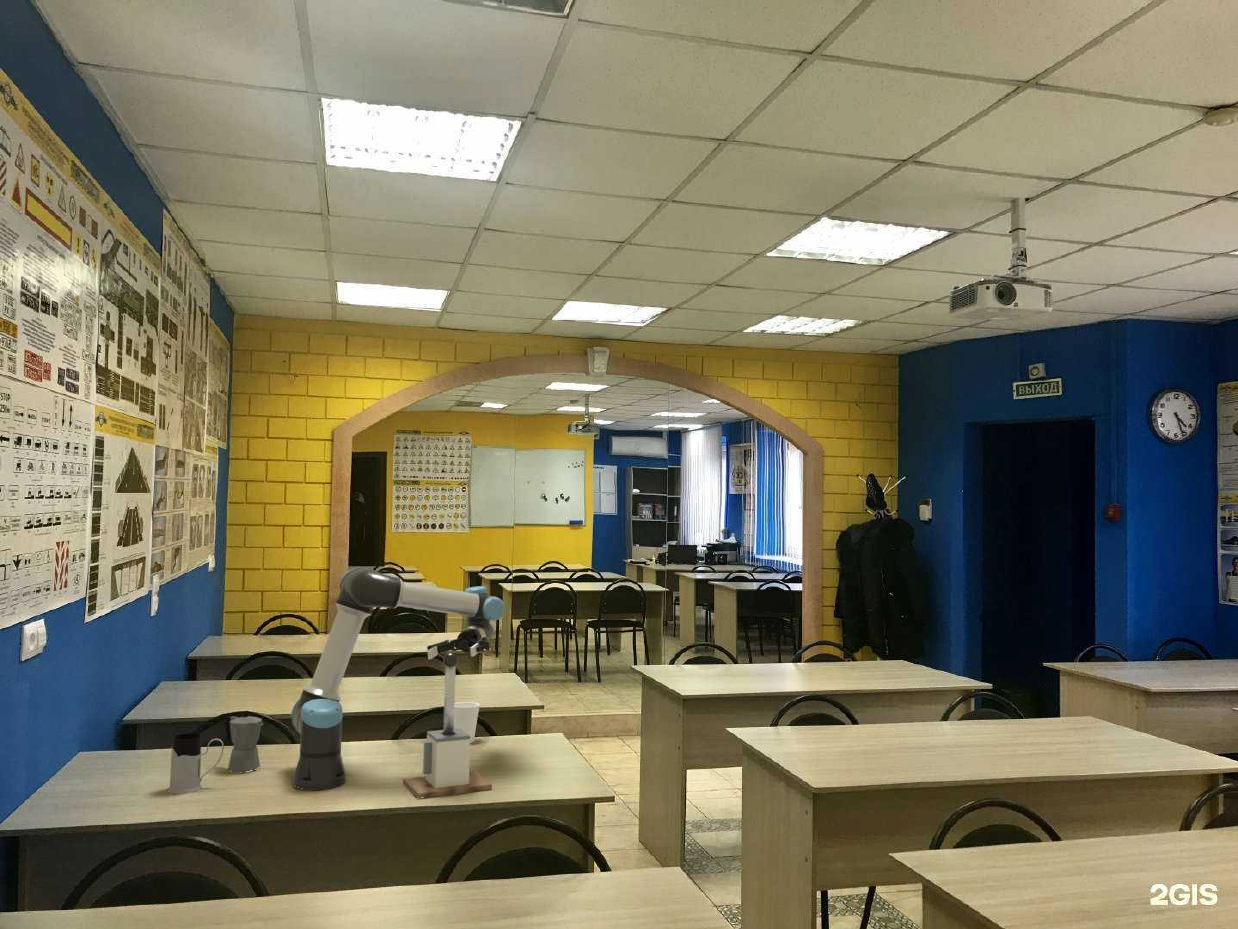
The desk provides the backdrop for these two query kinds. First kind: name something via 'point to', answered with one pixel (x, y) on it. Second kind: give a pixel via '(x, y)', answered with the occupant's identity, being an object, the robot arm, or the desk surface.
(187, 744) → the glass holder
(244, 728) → the coffeepot
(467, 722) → the foam cup
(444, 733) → the plunger
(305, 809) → the desk surface
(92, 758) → the desk surface
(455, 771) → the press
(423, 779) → the board
